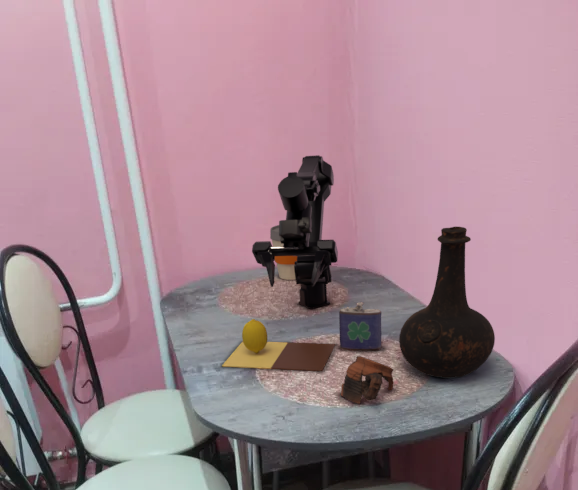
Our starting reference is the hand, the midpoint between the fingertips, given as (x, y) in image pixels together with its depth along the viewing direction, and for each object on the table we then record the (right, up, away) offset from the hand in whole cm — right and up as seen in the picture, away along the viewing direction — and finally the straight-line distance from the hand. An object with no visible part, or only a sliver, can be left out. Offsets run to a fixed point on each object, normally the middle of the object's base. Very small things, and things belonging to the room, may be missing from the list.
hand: (292, 285), depth 133 cm
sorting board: (-3, -16, 0) cm, 16 cm away
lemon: (-8, -15, +1) cm, 17 cm away
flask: (+15, -14, 0) cm, 21 cm away
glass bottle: (+31, -19, -12) cm, 38 cm away
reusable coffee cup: (+1, +12, +56) cm, 58 cm away
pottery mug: (+14, -24, -20) cm, 34 cm away
